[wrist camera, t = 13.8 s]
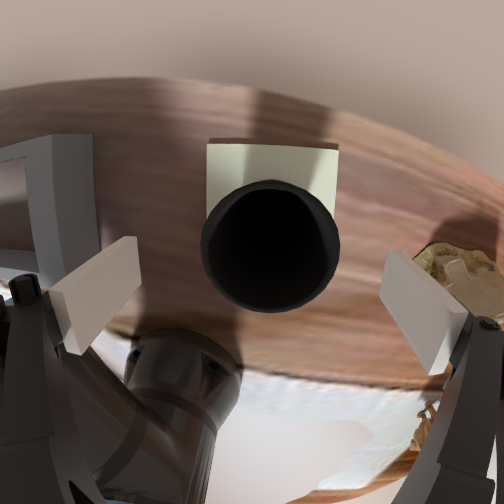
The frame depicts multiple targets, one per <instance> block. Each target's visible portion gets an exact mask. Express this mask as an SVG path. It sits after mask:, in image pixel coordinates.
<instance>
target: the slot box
mask: <svg viewBox="0 0 504 504" xmlns="http://www.w3.org/2000/svg"><path fill="white" fill-rule="evenodd" d="M21 157H25V166H26V184H27V196H28V206H29V215H30V222H31V229H32V235H33V241H34V247H35V251H27V250H16V249H5V248H0V278H3V279H8V280H12V279H13V278H15V277H17V276H19V275H22V274H27V273H34V274H36V275H37V277H38V281H39V285H40V286H44V287H49V288H51V287H52V286H54V285H55V284H56V283H58V282H59V281H60V280H62V279H63V278H64V277H66V276H67V275H69V274H70V273H71V272H73V271H74V270H75V269H77V268H78V267H80V266H81V265H82V264H84V263H85V262H87V261H88V260H90V259H91V258H92V257H94V256H95V255H97V254H98V253H100V252H101V251H100V244H99V236H98V227H97V217H96V206H95V192H94V171H93V134H50V135H46V136H42V137H38V138H34V139H30V140H26V141H23V142H19V143H16V144H12V145H9V146H6V147H2V148H0V163H1V162H4V161H8V160H12V159H17V158H21Z"/></svg>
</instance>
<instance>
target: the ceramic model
mask: <svg viewBox="0 0 504 504" xmlns="http://www.w3.org/2000/svg"><path fill="white" fill-rule="evenodd" d="M413 261H415V262H416V263H417V264H418V265H419V266H420V267H421V268H423V269H424V270H425V271H426V272H427V273H428V274H429V275H430V276H431V277H433V278H434V279H435V280H436V281H437V282H438V283H439V284H440V285H441V286H442V287H443V288H445V289H446V290H447V291H448V292H449V293H451V294H453V295H454V296H455V297H456V298H457V299H458V301H460V302H461V303H462V304H463V305H464V306H465V307H466V308H467V309H468V310H469V311H470V312H471V313H472V314H473V315H474V316H475V317H477V316H485V317H489V318H491V319H493V320H494V321H496V322H497V323H498V324H500V323H503V322H504V276H503V275H502V274H501V273H500V271H499V269H498V267H497V266H496V263H495V262H494V261H491V260H490V259H489V258H488V257H487V256H486V255H485V254H484V253H483V252H482V251H480V250H473V251H467V250H464V249H461V248H457V247H455V246H452V245H450V244H448V243H434V244H432V245H430V246H429V247H427V248H426V249H425V250H424V251H423V252H421V253H420V254H419V256H417V257H416V258H415V259H414V260H413Z"/></svg>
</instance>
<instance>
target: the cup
mask: <svg viewBox="0 0 504 504" xmlns="http://www.w3.org/2000/svg"><path fill="white" fill-rule="evenodd" d="M200 246H201V259H202V262H203V265H204V268H205V271H206V274H207V276H208V277H209V279H210V281H211V282H212V284H213V285H214V287H215V288H216V289H217V290H218V291H219V292H220V293H221V294H222V295H223V296H224V297H225V298H227V299H228V300H230V301H231V302H233V303H235V304H236V305H238V306H240V307H243V308H245V309H248V310H251V311H255V312H263V313H279V312H286V311H289V310H293V309H296V308H299V307H301V306H303V305H305V304H306V303H308V302H310V301H312V300H313V299H314V298H315V297H317V296H318V295H319V294H320V293H321V292H322V291H323V290H324V289H325V288H326V286H327V285H328V283H329V282H330V280H331V279H332V277H333V276H334V273H335V270H336V267H337V265H338V262H339V254H340V240H339V234H338V229H337V226H336V224H335V222H334V220H333V217H332V215H331V213H330V212H329V211H328V210H327V208H326V207H325V206H324V205H323V203H322V202H321V201H320V200H319V199H318V198H316V197H315V196H314V195H312V194H311V193H309V192H308V191H307V190H305V189H303V188H300V187H298V186H295V185H293V184H290V183H287V182H284V181H281V180H275V179H267V180H261V181H257V182H253V183H250V184H248V185H245V186H242V187H240V188H237V189H235V190H234V191H232V192H231V193H229V194H228V195H227V196H225V197H224V198H222V199H221V200H220V201H219V203H218V204H217V205H216V206H215V207H214V209H213V210H212V211H211V212H210V214H209V216H208V218H207V220H206V222H205V225H204V227H203V231H202V237H201V242H200Z"/></svg>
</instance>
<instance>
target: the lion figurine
mask: <svg viewBox="0 0 504 504" xmlns="http://www.w3.org/2000/svg"><path fill="white" fill-rule="evenodd" d="M425 407H426V408H427V409H428V410H429V412H430V414H431V418H429V419H427V417H426V414H425V413H424V412H420V413H418V415H417V417H418V418H420V417H421V418H422V422H421V423H420V425H419V428H417V429H416V431H415V433H414V439H412V440H411V444H410V450H411V451H412V450H417V451H420V450H421V448H422V446H423V444H424V441H425V439H426V437H427V435H428V432H429V430H430V428H431V425H432V423H433V420H434V418H435V415H436V413H437V412H436V411H435V409H434V407H433V406H432V403H431V402H430V401H429V402H427V403H426V404H425Z"/></svg>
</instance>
